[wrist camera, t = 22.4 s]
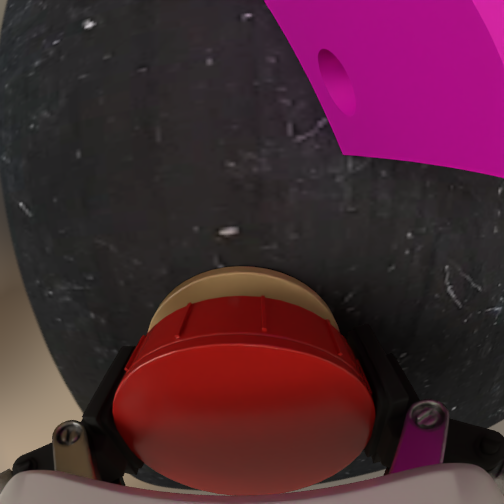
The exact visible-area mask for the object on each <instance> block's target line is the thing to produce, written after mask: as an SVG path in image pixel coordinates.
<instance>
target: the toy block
mask: <svg viewBox="0 0 504 504" xmlns="http://www.w3.org/2000/svg"><path fill="white" fill-rule="evenodd" d="M264 2H265V3H266V5H267V6H268V8H269V10H270V11H271V13H272V14H273V16H274V18H275V19H276V21H277V23H278V24H279V26H280V28H281V29H282V31H283V33H284V34H285V36H286V38H287V40H288V41H289V43H290V45H291V47H292V49H293V50H294V52H295V54H296V56H297V58H298V60H299V62H300V63H301V65H302V67H303V69H304V71H305V73H306V75H307V77H308V79H309V81H310V83H311V85H312V87H313V89H314V91H315V93H316V95H317V97H318V99H319V101H320V103H321V106H322V108H323V110H324V112H325V114H326V116H327V119H328V121H329V123H330V125H331V128H332V130H333V132H334V135H335V137H336V139H337V142H338V144H339V146H340V149H341V151H342V154H343V155H352V156H364V157H375V158H385V159H394V160H402V161H410V162H418V163H425V164H432V165H438V166H445V167H451V168H456V169H462V170H467V171H473V172H478V173H483V174H488V175H492V176H497V177H501V178H504V0H264Z"/></svg>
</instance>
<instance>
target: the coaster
mask: <svg viewBox="0 0 504 504" xmlns="http://www.w3.org/2000/svg"><path fill="white" fill-rule="evenodd" d="M261 295H263V296H265V297H266V298H272V299H277V300H282V301H285V302H288V303H292V304H295V305H298V306H300V307H302V308H305V309H307V310H309V311H312V312H314V313H315V314H317V315H318V316H320V317H322V318H323V319H325V320H326V319H329V320H330V323H331V325H332V326H334V327H335V328H336V329H337V330H338V331H339V328H338V325H337V323H336V321H335V319H334V317H333V314H332V312H331V310H330V309H329V307H328V306H327V305H326V303H325V302H324V301H323V299H322V298H321V297H320V296H319V295H318V294H317V293H316V292H315V291H313V290H312V289H311V288H309V287H308V286H307V285H305V284H304V283H302V282H300V281H299V280H297V279H295V278H293V277H291V276H288V275H286V274H283V273H281V272H277V271H274V270H270V269H266V268H259V267H248V266H235V267H224V268H219V269H215V270H210V271H207V272H204V273H201V274H199V275H196V276H194V277H192V278H190V279H188V280H186V281H184V282H183V283H182V284H180V285H179V286H177V287H176V288H175V289H174V290H173V291H172V292H170V293H169V294H168V295H167V296H166V298H165V299H164V300H163V302H162V303H161V304H160V306H159V307H158V309H157V311H156V313H155V315H154V317H153V319H152V320H151V323H150V326H149V329H148V332H149V331H150V330H151V329H152V328H153V326H155V325H156V324H157V323H158V322H159V321H161V320H162V319H163V318H164V317H166V316H168V315H169V314H171V313H173V312H174V311H176V310H178V309H180V308H183V307H185V306H187V304H188V303H190V302H191V303H192V304H193V303H196V302H200V301H203V300H207V299H212V298H219V297H225V296H258V297H261Z"/></svg>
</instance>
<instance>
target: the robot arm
mask: <svg viewBox="0 0 504 504" xmlns="http://www.w3.org/2000/svg"><path fill="white" fill-rule="evenodd" d="M347 342H348V344H349V346H350V347H351V349H352V351H353V353H354V356H355V358H356V360H357V359H358V360H359V362H360V365H361V367H362V369H363V372H364V374H365V376H366V378H367V381H368V383H369V385H370V388H371V390H372V393H373V394H372V398H373V401H374V405H375V409H376V417H375V422H374V426H373V430H372V434H371V438H370V440H369V442H368V444H367V446H366V447H365V448H364V450H365V454H366V456H367V457H369V456H371V457H372V460H373V463H376V462H380V461H381V463H382V465H384V466H387V468H386V470H385V473H384V476H381V477H377V478H373V479H369V480H364V481H360V482H355V483H350V484H345V485H339V486H334V487H329V488H323V489H316V490H310V491H301V492H292V493H282V494H268V495H246V496H214V495H193V494H180V493H170V492H160V491H153V490H146V489H140V488H134V487H128V486H125V483H124V480H123V477H122V476H124V473H128V474H134V475H137V472H138V469H139V468H142V466H143V463H144V462H143V461H141V460H140V459H139V458H138V457H137V456H136V455H135V454H134V453H133V452H132V451H131V450H130V448H129V447H128V445H127V444H126V442H125V441H124V439H123V438H122V436H121V435H120V433H119V432H118V430H117V428H116V426H115V423H114V418H113V399H114V396H115V392H116V390H117V388H118V386H119V384H120V382H121V380H122V378H123V376H124V374H125V372H126V370H124V368H125V366H126V365H127V363H128V361H129V359H130V357H131V355H132V354H133V352H134V350H135V348H136V346H124V347H122V348H121V349H120V351H119V353H118V354H117V356H116V358H115V359H114V361H113V363H112V364H111V366H110V368H109V370H108V371H107V373H106V375H105V376H104V378H103V380H102V382H101V383H100V385H99V387H98V389H97V391H96V392H95V394H94V396H93V398H92V399H91V401H90V403H89V405H88V407H87V409H86V410H85V412H84V414H83V416H82V417H83V419H82V421H81V422H78V421H76V420H70V421H66V422H63V423H61V424H60V425H58V426H57V428H56V429H55V430H54V432H53V436H52V443H50V444H48V445H45V446H43V447H41V448H38V449H36V450H34V451H32V452H29V453H27V454H24V455H22V456H20V457H19V458H18V459H17V460H16V461H15V463H14V464H13V468H12V470H13V471H11V470H10V469H8V470H6V471H4V472H2V473H0V504H504V437H503V436H502V435H501V434H500V433H499V432H496V431H494V430H490V429H486V428H482V427H478V426H475V425H471V424H467V423H464V422H460V421H457V420H453V419H450V418H449V411H448V409H447V407H446V406H445V405H444V404H443V403H441V402H439V401H437V400H433V399H423V400H419V398H418V396H417V394H416V392H415V391H414V389H413V387H412V385H411V384H410V382H409V380H408V378H407V377H406V375H405V373H404V371H403V370H402V368H401V366H400V365H399V363H398V361H397V359H396V358H395V356H394V355H393V354H385V352H384V351H383V349H382V347H381V345H380V344H379V342H378V340H377V338H376V337H375V335H374V333H373V331H372V330H371V328H370V326H369V325H368V324H364V325H359V326H354V327H353V328H352V331H348V338H347Z"/></svg>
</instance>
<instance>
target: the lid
mask: <svg viewBox="0 0 504 504" xmlns="http://www.w3.org/2000/svg"><path fill="white" fill-rule="evenodd" d="M124 370H126V372H125V374H124V376H123V378H122V380H121V382H120V384H119V386H118V388H117V390H116V392H115V396H114V399H113V418H114V423H115V426H116V428H117V430H118V432H119V433H120V435H121V436H122V438H123V439H124V441H125V442H126V444H127V445H128V447H129V448H130V450H131V451H132V452H133V453H134V454H135V455H136V456H137V457H138V458H139V459H140V460H141V461H143V462H144V463H145V464H146V465H148V466H149V467H150V468H152V469H154V470H155V471H157V472H158V473H160V474H162V475H164V476H166V477H167V478H169V479H172V480H174V481H176V482H178V483H181V484H184V485H186V486H189V487H192V488H196V489H199V490H203V491H207V492H212V493H217V494H226V495H235V496H246V495H268V494H280V493H286V492H290V491H294V490H298V489H301V488H305V487H308V486H311V485H313V484H316V483H318V482H321V481H323V480H325V479H327V478H329V477H331V476H333V475H334V474H336V473H338V472H339V471H341V470H342V469H344V468H345V467H346V466H348V465H349V464H350V463H351V462H352V461H353V460H354V459H356V458H357V457H358V456H359V455H360V453H361V452H362V451H363V450H364V448H365V447H366V446H367V444H368V442H369V440H370V438H371V434H372V430H373V426H374V422H375V417H376V409H375V405H374V401H373V398H372V394H373V393H372V390H371V388H370V385H369V383H368V381H367V378H366V376H365V374H364V372H363V369H362V367H361V365H360V362H359V360H358V359H357V360H356V358H355V356H354V353H353V351H352V349H351V347H350V346H349V344H348V342H347V341H346V339H345V338H344V337H343V336H342V334H341V333H340V332H339V331H338V330H337V329H336V328H335V327H334V326H332V325H331V323H330V320H329V319H326V320H325V319H323V318H322V317H320V316H318V315H317V314H315V313H314V312H312V311H309V310H307V309H305V308H302V307H300V306H298V305H295V304H292V303H288V302H285V301H282V300H277V299H272V298H266V297H265V296H263V295H261V297H258V296H225V297H219V298H212V299H207V300H203V301H200V302H196V303H193V304H192V303H191V302H190V303H188V304H187V306H185V307H183V308H180V309H178V310H176V311H174V312H173V313H171V314H169V315H168V316H166V317H164V318H163V319H162V320H161V321H159V322H158V323H157V324H156V325H155V326H153V328H152V329H151V330H150V331H149V332H148V333H147V335H146V336H144V335H143V336H142V337H141V339H140V341H139V343H138V344H137V346H136V348H135V350H134V352H133V354H132V355H131V357H130V359H129V361H128V363H127V365H126V366H125V368H124Z"/></svg>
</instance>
